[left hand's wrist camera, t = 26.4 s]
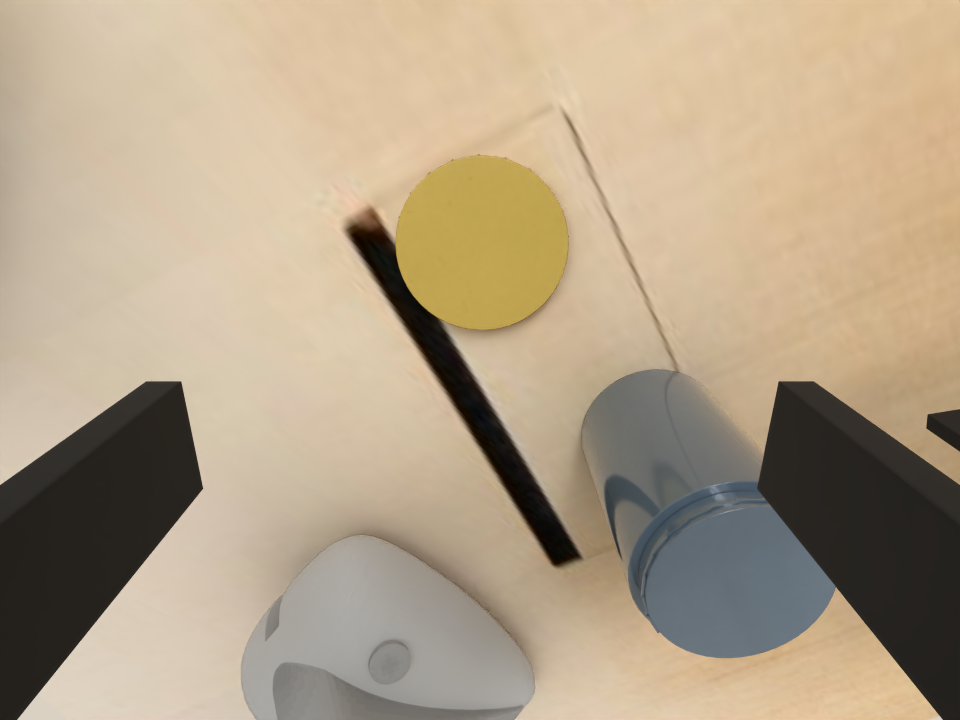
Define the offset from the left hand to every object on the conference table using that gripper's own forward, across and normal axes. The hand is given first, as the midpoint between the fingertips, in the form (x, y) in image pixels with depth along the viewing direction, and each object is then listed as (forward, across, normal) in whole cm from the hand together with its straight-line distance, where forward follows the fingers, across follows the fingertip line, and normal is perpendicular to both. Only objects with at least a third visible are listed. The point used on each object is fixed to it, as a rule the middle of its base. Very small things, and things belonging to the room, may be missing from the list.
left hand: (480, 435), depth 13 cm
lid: (+25, 0, 0) cm, 25 cm away
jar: (+27, +13, -14) cm, 33 cm away
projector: (+27, -6, -33) cm, 43 cm away
